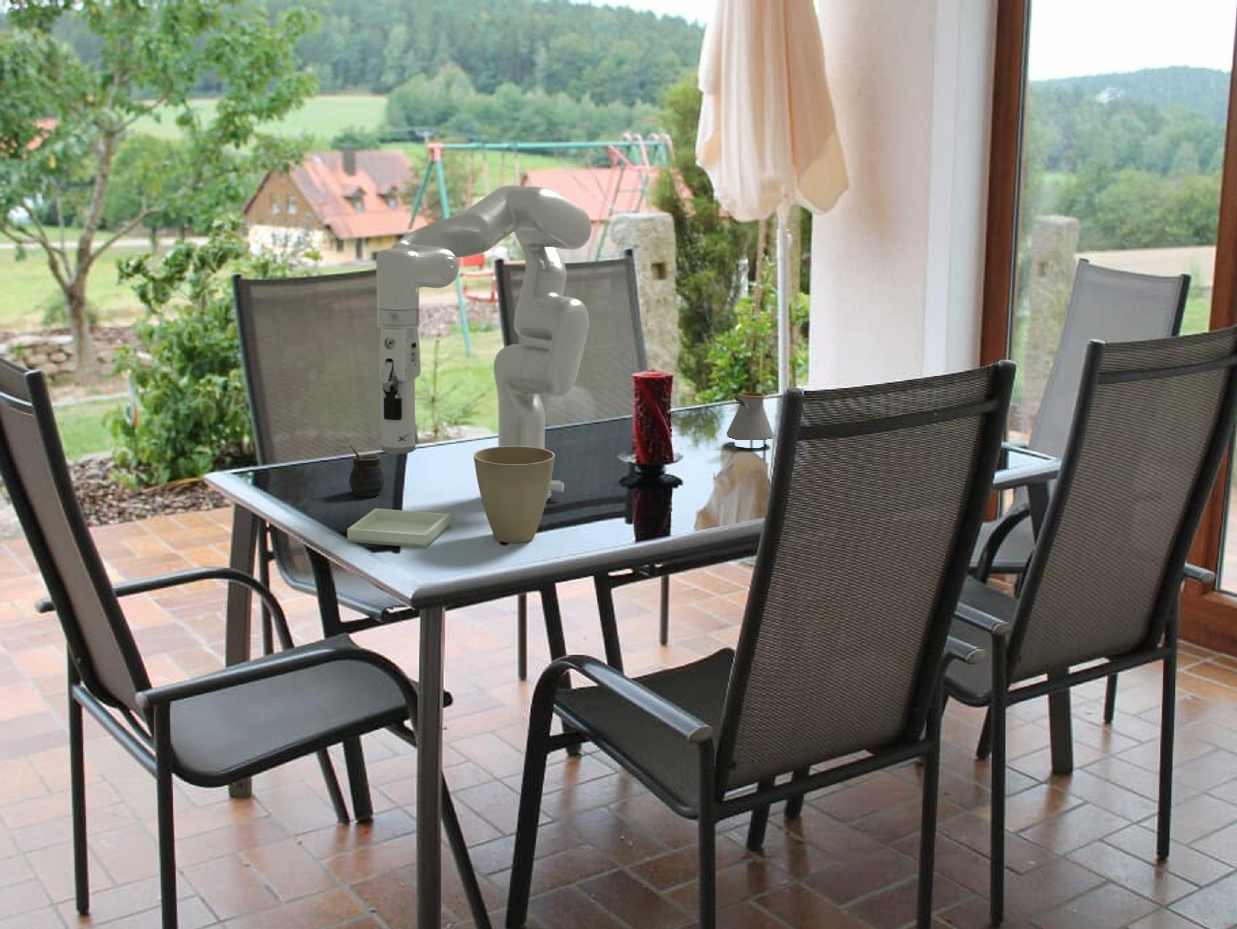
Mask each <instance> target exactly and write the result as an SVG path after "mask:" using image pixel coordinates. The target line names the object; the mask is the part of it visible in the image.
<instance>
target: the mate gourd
mask: <svg viewBox="0 0 1237 929" xmlns="http://www.w3.org/2000/svg"><path fill="white" fill-rule="evenodd" d="M349 448H350V449H351V450H352V451H353V453H354V455H355V456H353V458H352V460H353V461H352V463H353V467H352V470H351V472H350V475H349V480H348V482H349V486H350V489H351V491H352V492H353V494H355V495H356V496H359V497H361V498H367V497H368V498H370V497H375V496H376V497H377V496H378V495H379V494H380V493H381V492H382V491H383V489H384V486H385V483H386V482H385V474H384V472H383V469H382V467H381V456H380V455H379V454H373V453H371V454H370V453H365V454H359V453H358V452H357V451H356V450H355V448H354V447H353V446H352V445H349Z"/></svg>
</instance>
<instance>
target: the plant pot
mask: <svg viewBox="0 0 1237 929" xmlns="http://www.w3.org/2000/svg"><path fill="white" fill-rule="evenodd" d="M555 457H556V455H555V453H554V452H552V451H551V450H548V449H546V448H544V449H542V448H537V447H529V446H499V447H498V446H493V447H487V448H483V449H479V450H477V451H475V452H474V454H473V460H474V467H475V474H476V480H477V483H478V484H477V485H478V489H479V494H480V498H481V502H482V504H483V510H484V512H485V515H486V518H487V521H488V524H489V527H490V530H491V532H492V534H493V536H494V539H495V540H497V541H499V542H501V543H506V544H507V543H509V544H513V543H514V544H518V543H519V544H520V543H526V542H530V541H532V540H533V539H535V536H536V534H537V531H538V528H539V525H540V522H541V520H542V517H543V513H544V510H545V508H546V503H547V500H548V499H547V496H548V492H549V488H550V483H551V480H552V477H553V471H554V464H555V459H556V458H555Z"/></svg>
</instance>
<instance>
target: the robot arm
mask: <svg viewBox="0 0 1237 929" xmlns="http://www.w3.org/2000/svg"><path fill="white" fill-rule="evenodd" d="M513 233H514V235H515V237H516V239H517V241H518V242H519V245H520V247H521V250H522V253H523V256H524V262H525V272H524V275H523V276H524V277H523V282H522V285H521V288H520V292H519V297H518V301H517V304H516V309H515V313H514V317H513V328H514V330H515V333H516V334H517V335H519V337H522V338H523V339H527V340H531V341H538V342H543V343H544V342H545V343H550V347H543V346H537V345H530V344H523V343H522V344H521V343H520V344H518V343H516V344H515V343H514V344H509V345H506V346H504V347H503V348H501V349H500V350H499V351H498V352H497V353H496V356H495V358H494V362H493V376H494V381H495V385H496V391H497V392H496V393H497V404H498V405H497V406H498V423H497V424H498V428H497V430H498V435H497V439H498V440H497V441H498V442H497V443H498V444H497V447H499V446H529V447H537V448H542V449H545V445H546V444H545V440H546V439H545V437H546V436H545V434H546V433H545V432H546V431H545V430H546V429H545V428H546V412H545V407H544V404H543V401H542V399H541V397H540V396H546V397H557V398H559V397H563V396H565V395H567V394H568V393H569V392H571V390H572V389H573V387H574V385H575V382H576V380H577V378H578V373H579V369H580V367H581V366H580V365H581V362H582V358H583V354H584V350H585V346H586V342H587V338H588V334H589V329H590V317H589V312H588V309H587V306H586V305H585V304H584V303H583V302H582V301H581V300H580V299H577V298H574V297H570V296H564V293H565V292H564V291H565V286H566V283H567V282H566V281H567V269H566V264H565V262H564V259H563V257H562V255H561V253H560V251H559V249H560V250H571V251H572V250H573V251H575V250H578V249H581V248H583V247H584V246H585V245H586V244H587V243H588V241H589V240H590V237H591V234H592V222H591V218H590V216H589V215H588V213H587V211H586V210H585V209H583V207H581V206H580V205H577V204H576V203H574V202H572V201H571V200H568V198H565V197H563V196H562V195H560V194H559V193H557V192H554V191H552V190H551V189H547V188H546V187H541V186H530V185H528V186H527V185H526V186H525V185H504V186H501V187H498V188H497V189H495V190H493V191H492V192H491V193H489V194H488V195H486V196H485V197H483V198H482V199H481V200H479V201H477V202H476V203H475V204H473V205H472V206H470V207H469V208H468V209H465V210H464V211H463V212H461V213H459V214H457V215H453V216H450V217H447V218H444V219H441V220H439V221H436V222H432V223H429V224H426V225H424V226H421V227H418V228H417V229H414V230H412V231H411V232H409V233H408V234H407V235H404V236H403V237H402V238H401V239H399V240H398V241H396V242H395V243H394V244H393V245H392V246H391V247H390V248H384V249H381V250H379V251H378V252H377V254H376V265H375V266H376V323H377V324H376V325H377V328H380V336H379V353H378V354H379V361H378V363H379V366H378V367H379V380H380V379H381V383H382V386H383V391H384V392H383V398H384V419H385V420H401V419H402V398H400V390H401V381H402V383H407V382H409V381H411V380H412V379H413V368H412V367H413V365H414V367H415V368H414V373H415V379H417V378H418V377H419V376H420V375H421V348H420V346H421V345H420V337H419V328H418V327H420V288H431V289H443V288H445V287H448V286H449V285H452V284H453V282H455V280H456V279H457V277H458V275H459V271H460V264H459V263H460V262H459V261H458V260H459V259H458V258H467V257H471V256H476V255H480V254H484V253H485V252H488V251H490V249H492V248H493V247H495V246H496V245H497V244H499V243H500V242H502V241H503V240H504V239H506V238H507V237H508V236H510V235H511V234H513ZM413 343H416V347H415V348H412V344H413ZM413 352H414V355H413V356H412V353H413ZM412 358H414V361H415V363H414V364H413V365H412V361H413V359H412ZM392 377H396V378H397V379H398V381H391V378H392ZM393 385H396V390H395V388H394V386H393ZM564 490H565V483H564V482H562V480H552V479H551V483H550V488H549V492H548V496H547V500H548V499H550V498H551V497H552V491H553V492H561V493H563V492H564Z"/></svg>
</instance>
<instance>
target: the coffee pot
mask: <svg viewBox="0 0 1237 929" xmlns="http://www.w3.org/2000/svg"><path fill="white" fill-rule="evenodd" d="M765 397H766V394H764V393H761V392H753V391H750V392H749V391H747V392H744V391H743V392H738V393H737V395H734V396H732V397H731V398H730V399H729V401H730V403H732V404H733V405H738V404H739V407H738V408H737V411H736V412H735V415H734V417H733V419H732V421H731V423H730V425H729V427H728V430H727V431H726V436H727V438H728V437H729V438H732V439H735V440H767V439H772V440H773V438H774V432H773V430H772V428H771V425H770V421H769V419H768V415H767V413H766V411H765V407H764V405H763V401H764V398H765ZM733 398H734V399H735V401H736V402H737V403H735V402H732V399H733ZM772 437H773V438H772Z"/></svg>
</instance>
